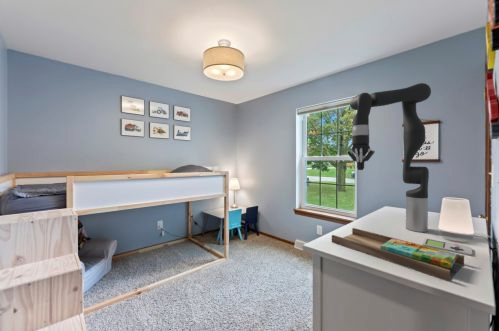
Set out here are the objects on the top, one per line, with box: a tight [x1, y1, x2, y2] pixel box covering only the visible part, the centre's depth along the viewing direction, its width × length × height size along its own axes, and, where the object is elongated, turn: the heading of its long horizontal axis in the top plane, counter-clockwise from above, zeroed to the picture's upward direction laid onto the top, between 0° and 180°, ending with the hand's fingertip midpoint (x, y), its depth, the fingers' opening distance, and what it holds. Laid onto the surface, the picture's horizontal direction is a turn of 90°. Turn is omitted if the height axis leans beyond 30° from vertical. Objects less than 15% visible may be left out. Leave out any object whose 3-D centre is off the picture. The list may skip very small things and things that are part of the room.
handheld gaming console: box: [421, 237, 473, 257], centre depth 92 cm, size 10×2×15 cm
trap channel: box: [331, 227, 465, 282], centre depth 87 cm, size 18×40×3 cm, turn 35°
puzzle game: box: [381, 238, 458, 268], centre depth 79 cm, size 12×5×20 cm
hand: (360, 169), depth 109 cm, fingers closed
